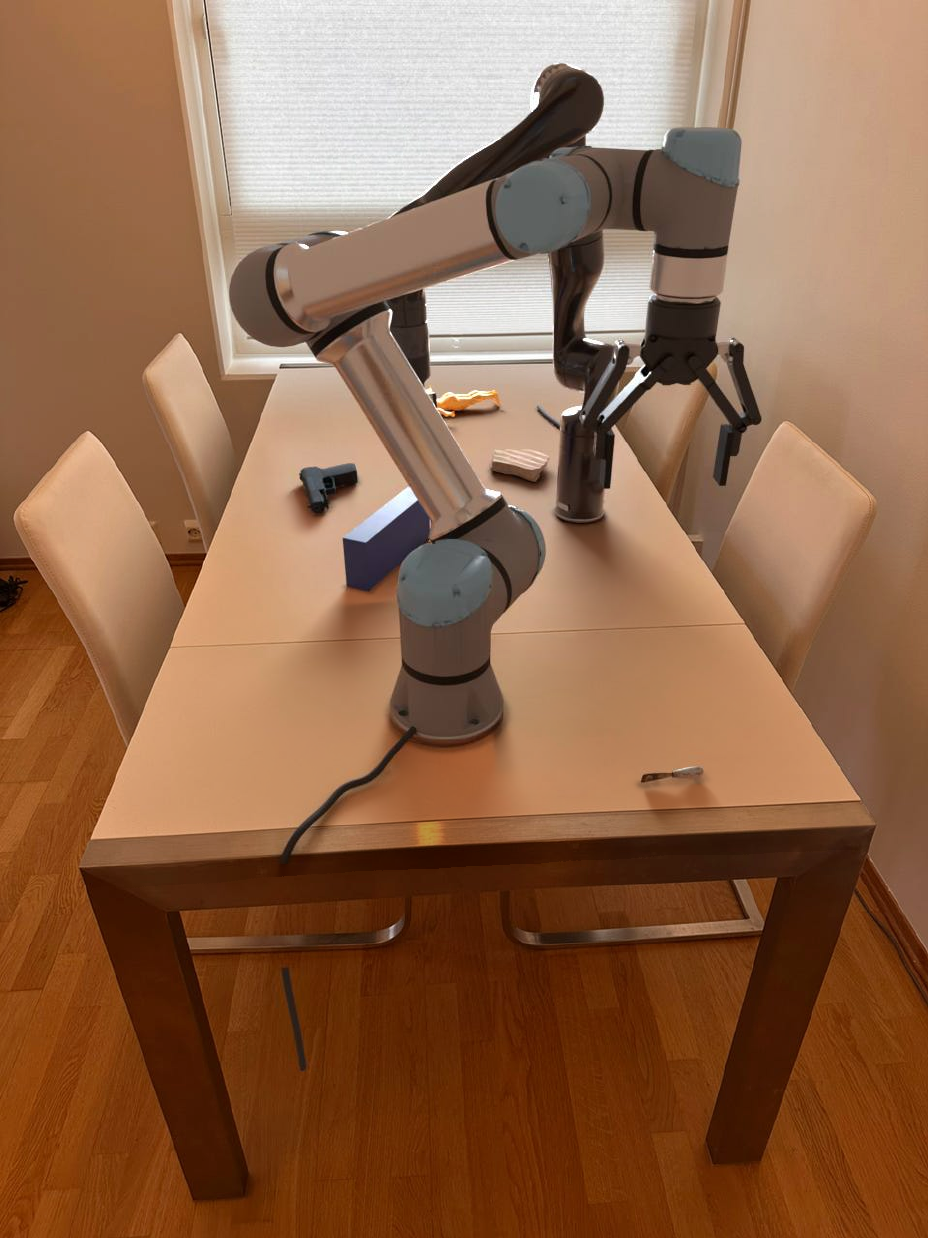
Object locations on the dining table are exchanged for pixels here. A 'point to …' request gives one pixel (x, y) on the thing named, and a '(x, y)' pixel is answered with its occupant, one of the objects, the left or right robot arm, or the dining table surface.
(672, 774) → the putty knife
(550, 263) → the right robot arm
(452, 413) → the human figure
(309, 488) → the handgun
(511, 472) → the stone
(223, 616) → the dining table surface
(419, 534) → the bar
